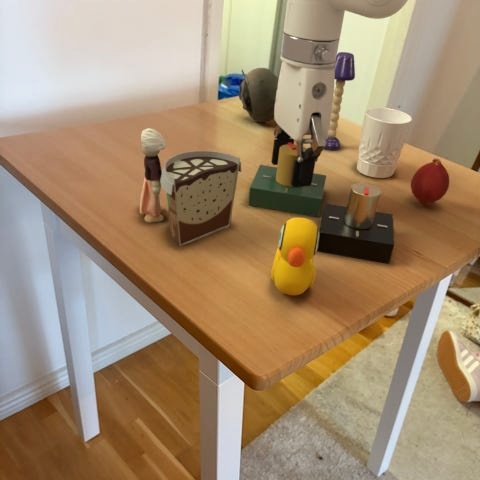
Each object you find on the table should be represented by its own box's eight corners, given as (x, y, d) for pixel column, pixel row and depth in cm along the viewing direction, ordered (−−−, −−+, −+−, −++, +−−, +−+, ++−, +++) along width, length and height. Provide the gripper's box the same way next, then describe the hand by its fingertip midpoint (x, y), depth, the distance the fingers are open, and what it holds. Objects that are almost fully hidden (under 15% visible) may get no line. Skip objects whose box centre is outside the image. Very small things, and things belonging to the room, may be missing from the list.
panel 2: (387, 232, 79) (393, 212, 77) (388, 263, 72) (394, 243, 70) (321, 220, 80) (325, 201, 78) (316, 251, 73) (320, 230, 71)
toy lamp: (312, 143, 104) (327, 51, 94) (327, 139, 107) (344, 49, 96) (330, 152, 102) (348, 58, 91) (345, 147, 104) (365, 55, 94)
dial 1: (307, 186, 82) (313, 153, 79) (281, 187, 81) (285, 154, 77) (297, 174, 85) (302, 141, 82) (271, 175, 84) (276, 142, 81)
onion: (412, 193, 90) (427, 147, 85) (445, 204, 88) (462, 158, 83) (400, 204, 86) (414, 157, 81) (433, 216, 84) (450, 168, 79)
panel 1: (323, 192, 88) (326, 174, 86) (318, 217, 81) (322, 198, 79) (258, 181, 89) (260, 163, 87) (248, 205, 82) (250, 186, 80)
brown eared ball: (273, 135, 106) (280, 80, 100) (224, 119, 111) (227, 66, 104) (297, 122, 113) (304, 71, 107) (249, 108, 118) (254, 58, 111)
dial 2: (344, 213, 76) (352, 178, 73) (372, 217, 76) (381, 183, 72) (343, 226, 73) (351, 191, 69) (372, 231, 72) (382, 196, 69)
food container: (208, 207, 81) (212, 142, 74) (237, 223, 77) (242, 157, 71) (142, 231, 73) (140, 162, 67) (170, 250, 70) (170, 179, 64)
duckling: (309, 321, 61) (325, 247, 55) (263, 313, 61) (274, 239, 55) (314, 267, 70) (328, 198, 63) (273, 261, 70) (283, 192, 64)
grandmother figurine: (133, 206, 79) (129, 120, 71) (159, 203, 80) (157, 118, 72) (146, 231, 73) (143, 142, 65) (173, 228, 75) (173, 139, 67)
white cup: (364, 158, 101) (377, 104, 94) (402, 171, 97) (418, 116, 91) (345, 170, 96) (357, 114, 89) (385, 184, 92) (401, 126, 86)
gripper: (365, 67, 66) (337, 198, 77) (307, 35, 78) (290, 151, 90) (310, 68, 64) (290, 202, 75) (260, 34, 76) (249, 153, 87)
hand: (290, 173), depth 82 cm, fingers open, 7 cm apart
